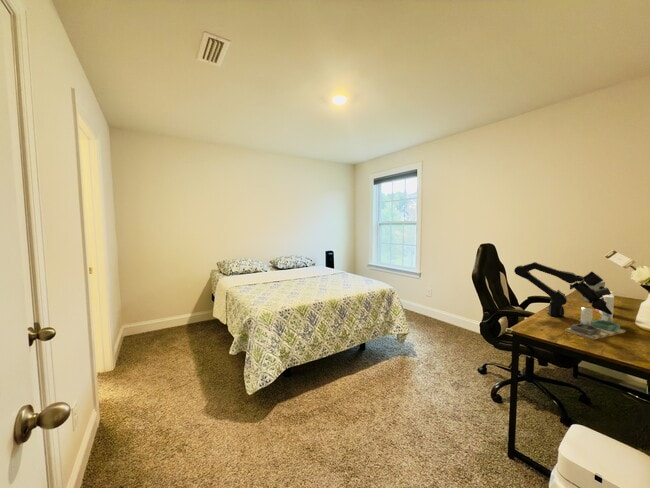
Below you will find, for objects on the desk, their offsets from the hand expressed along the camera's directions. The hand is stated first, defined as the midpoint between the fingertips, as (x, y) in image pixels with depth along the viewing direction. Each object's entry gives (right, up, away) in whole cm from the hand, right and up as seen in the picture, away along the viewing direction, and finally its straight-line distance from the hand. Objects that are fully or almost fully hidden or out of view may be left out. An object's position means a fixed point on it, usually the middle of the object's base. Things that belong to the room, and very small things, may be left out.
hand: (610, 312), depth 158 cm
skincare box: (+30, -3, +42) cm, 52 cm away
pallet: (-18, -8, -9) cm, 22 cm away
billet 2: (-1, -7, +1) cm, 7 cm away
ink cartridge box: (+15, -5, +19) cm, 25 cm away
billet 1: (-26, -7, -12) cm, 29 cm away
